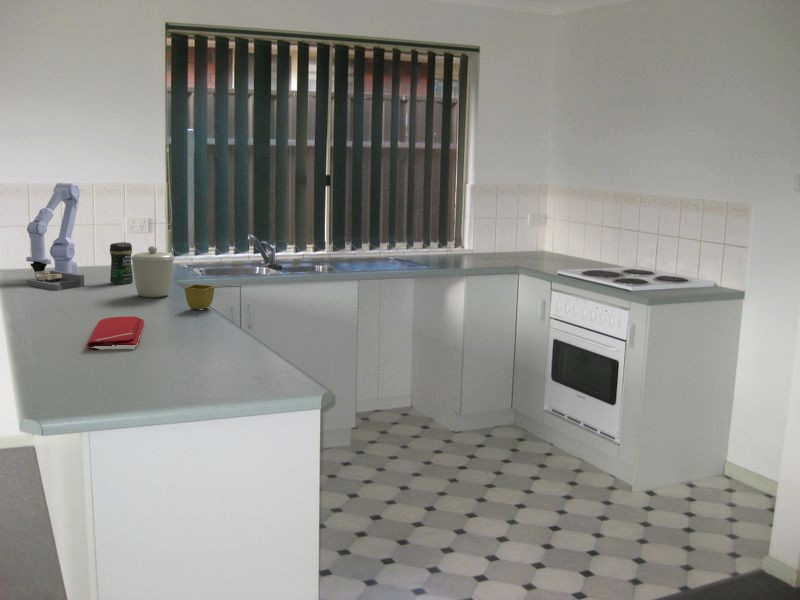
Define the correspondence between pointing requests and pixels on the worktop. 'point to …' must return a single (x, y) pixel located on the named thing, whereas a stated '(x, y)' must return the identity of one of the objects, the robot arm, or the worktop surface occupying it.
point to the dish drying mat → (116, 331)
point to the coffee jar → (121, 263)
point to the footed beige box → (47, 276)
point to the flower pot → (199, 296)
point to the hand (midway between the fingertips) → (39, 278)
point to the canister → (153, 272)
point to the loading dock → (65, 283)
